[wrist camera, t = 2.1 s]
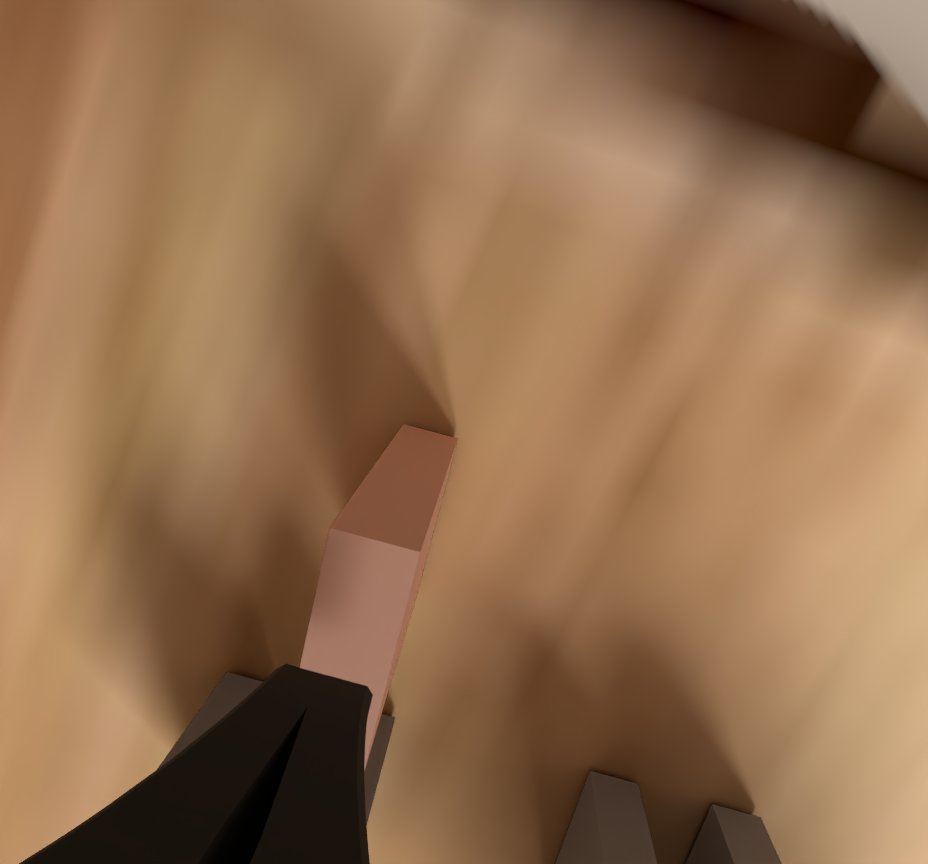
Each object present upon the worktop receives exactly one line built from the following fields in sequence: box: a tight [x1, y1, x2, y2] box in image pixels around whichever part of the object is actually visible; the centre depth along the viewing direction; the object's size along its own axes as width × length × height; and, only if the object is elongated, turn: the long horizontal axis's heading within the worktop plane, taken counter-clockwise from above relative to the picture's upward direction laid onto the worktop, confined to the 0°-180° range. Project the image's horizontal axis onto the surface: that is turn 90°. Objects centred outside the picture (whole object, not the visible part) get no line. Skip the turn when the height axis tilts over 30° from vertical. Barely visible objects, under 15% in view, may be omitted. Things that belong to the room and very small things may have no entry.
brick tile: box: [300, 424, 458, 771], centre depth 14 cm, size 2×5×7 cm, turn 166°
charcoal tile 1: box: [157, 672, 263, 770], centre depth 16 cm, size 2×5×7 cm, turn 166°
